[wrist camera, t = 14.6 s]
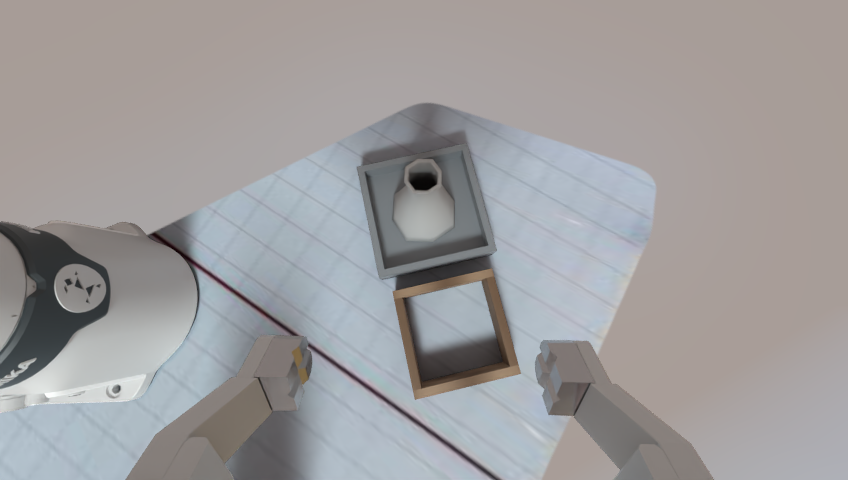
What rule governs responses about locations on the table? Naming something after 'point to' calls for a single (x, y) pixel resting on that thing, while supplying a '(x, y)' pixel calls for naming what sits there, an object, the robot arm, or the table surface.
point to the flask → (423, 203)
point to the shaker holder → (471, 376)
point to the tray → (452, 247)
